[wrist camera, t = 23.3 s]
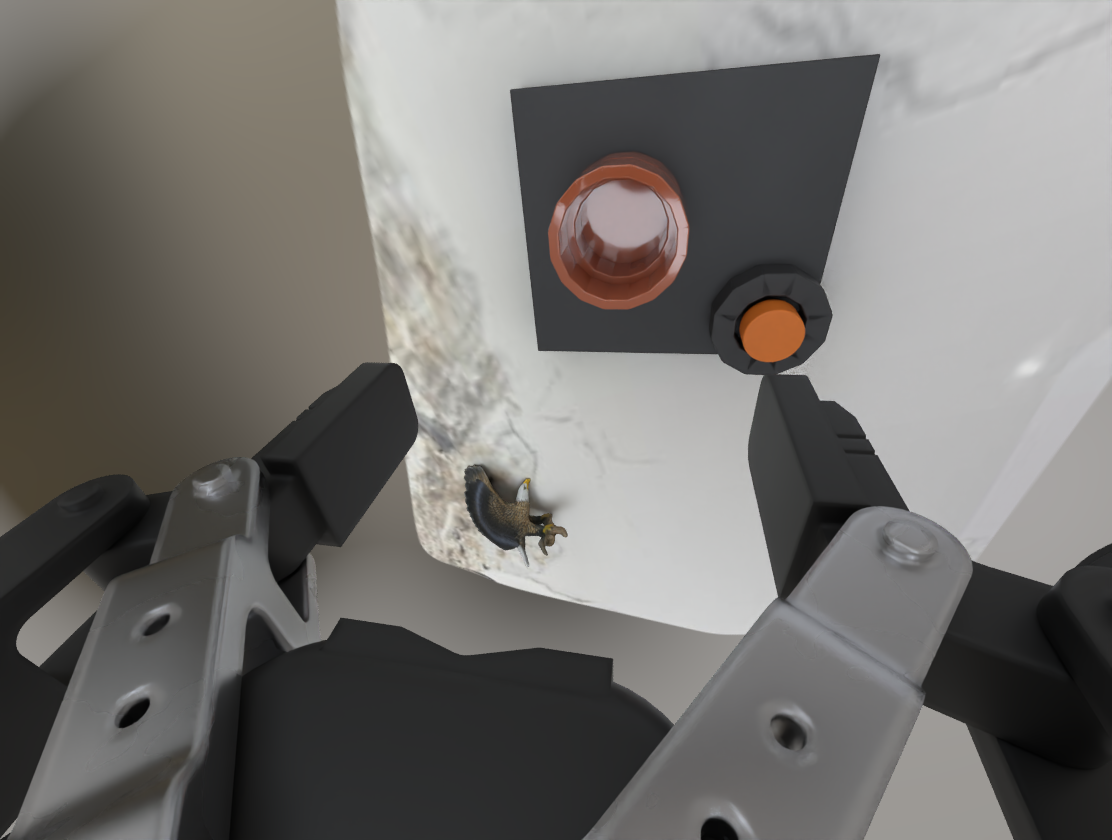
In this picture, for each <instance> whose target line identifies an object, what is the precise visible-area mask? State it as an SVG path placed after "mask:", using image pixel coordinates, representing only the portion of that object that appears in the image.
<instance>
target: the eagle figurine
mask: <svg viewBox="0 0 1112 840" xmlns="http://www.w3.org/2000/svg"><path fill="white" fill-rule="evenodd" d="M465 474H466V476H464V479H465V481H466V483H465V487H466V491H465V492H464V495H465V497H466V499H465V502H466V504H467V511H468V512H469V513H470V517H471V518H472V521H473V523H474V524H475V526H476V527H477V528H478V531H479V532H481V533H482V535H484V536H485V537H486V538H488V539H489V540H490V541H491V542H492V543H494V544H496V545H497V546H498V547H500V548H502V549H503V550H511V549H514V548H516V547H517V548H518V550H519V552H520V555H521V557H522V559H523V561H524V564H525V565H526V566H527V567H529V562H528V558H527V555H526V552H525V536H540V537H541V539H540V541H539V543H538V545H539V546H540V548H541V550H542V552H543V553H544V554H545V555H546V556H547V555H548V554H547V551H546V549H545V546H552V545H553V544H554V542H555V535H556V534H561V535H562V536H564V537H567V536H568V534H567V532H566V530H565V528H563V527H559V526H558V527H557V526H556V525H554V523H553V522H552V514H550V513H547V514H544V515H542V516H530V515H529V507H530V504H529V497H528V485H529V482H530V479H526V480H525V481H524V483H523V484H522V485H521V486H520V488H519V490H518V494H517V498H516V501H515V503H509V502H506V501H504V500H503V499H502V498H501V497H500V496H499V495H498V493H497V492H496V491H495V490H494V488H493V487H492V485H491V484H490V481H489V479H488V477H487V475H486V473H485V471H484V470H483V468H482V467H481V466H479V467H477V466H476V465H473V467H470V466H468V467H467V469H465ZM542 523H543V524H544V526H543V525H541V524H542Z"/></svg>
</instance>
